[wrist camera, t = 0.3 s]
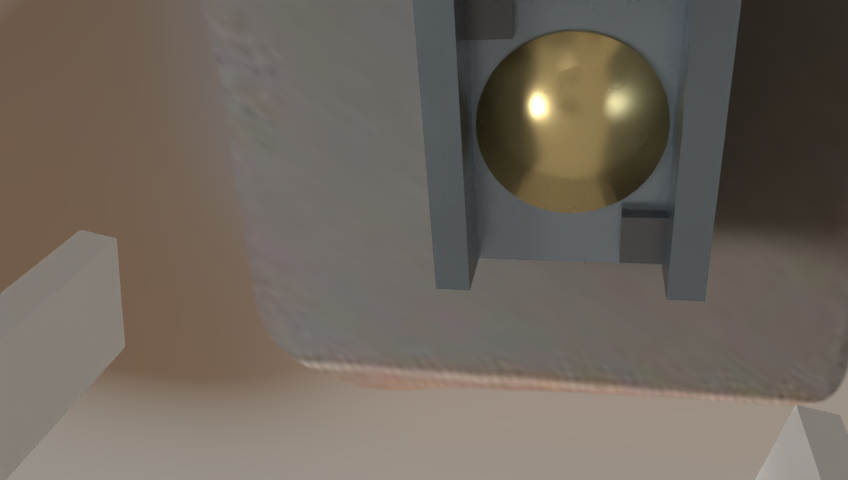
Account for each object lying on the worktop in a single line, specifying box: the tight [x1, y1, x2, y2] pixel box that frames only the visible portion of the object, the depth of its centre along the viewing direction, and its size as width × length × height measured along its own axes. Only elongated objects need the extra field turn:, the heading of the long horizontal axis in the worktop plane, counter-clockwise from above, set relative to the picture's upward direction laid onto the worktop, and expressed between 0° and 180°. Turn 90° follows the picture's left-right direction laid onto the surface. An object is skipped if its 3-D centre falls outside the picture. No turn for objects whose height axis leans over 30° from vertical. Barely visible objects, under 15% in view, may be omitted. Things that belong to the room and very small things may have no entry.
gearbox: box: [413, 0, 742, 301], centre depth 34 cm, size 14×12×8 cm
